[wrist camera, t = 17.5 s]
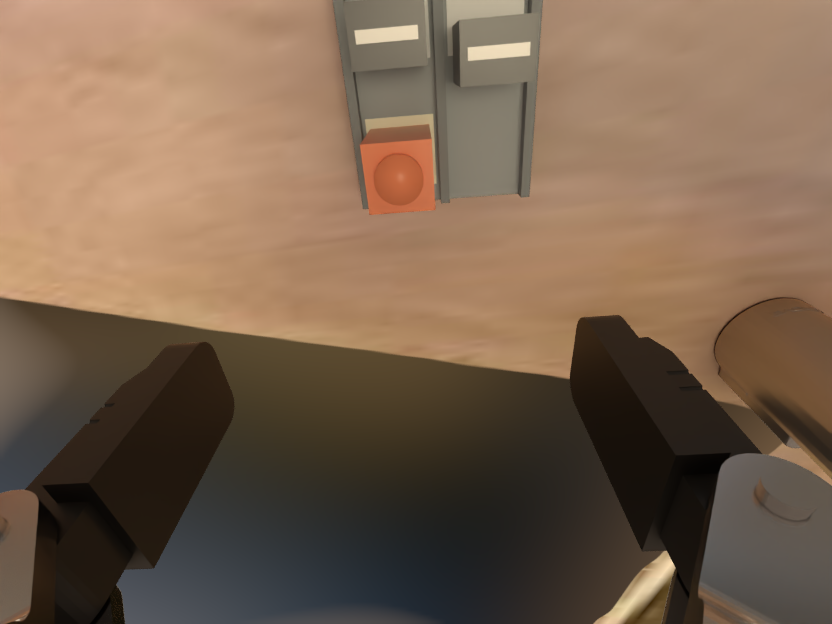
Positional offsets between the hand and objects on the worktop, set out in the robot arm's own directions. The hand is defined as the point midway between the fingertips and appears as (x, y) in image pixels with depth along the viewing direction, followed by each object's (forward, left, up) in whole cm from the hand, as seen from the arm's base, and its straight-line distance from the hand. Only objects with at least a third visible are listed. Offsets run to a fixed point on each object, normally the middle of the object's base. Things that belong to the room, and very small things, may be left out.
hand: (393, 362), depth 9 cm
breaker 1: (+7, +1, -23) cm, 24 cm away
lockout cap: (0, +1, -23) cm, 23 cm away
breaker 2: (+6, -5, -23) cm, 24 cm away
